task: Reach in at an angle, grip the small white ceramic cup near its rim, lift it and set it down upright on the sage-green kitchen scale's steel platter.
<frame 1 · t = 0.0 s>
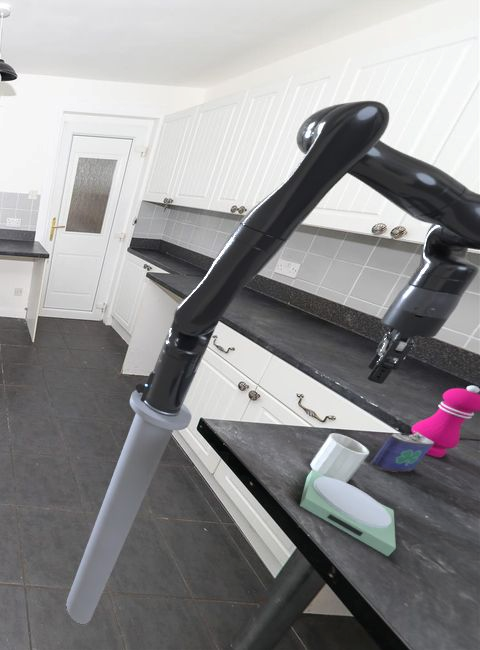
hand: (374, 375, 74), 23 cm above the table, tool pointing down, fingers open, 8 cm apart
cup: (327, 472, 76), on the table
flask: (390, 467, 80), on the table
scale: (342, 512, 67), on the table
pepper mill: (422, 448, 88), on the table
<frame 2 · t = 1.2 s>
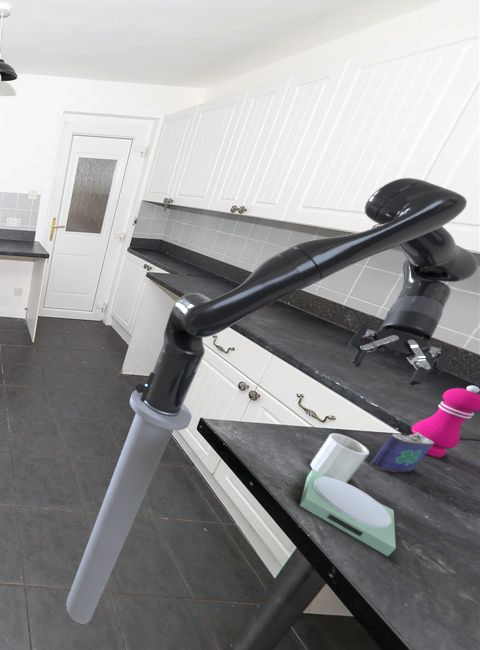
hand: (383, 374, 76), 22 cm above the table, tool tilted 45°, fingers open, 8 cm apart
nothing on the table moved.
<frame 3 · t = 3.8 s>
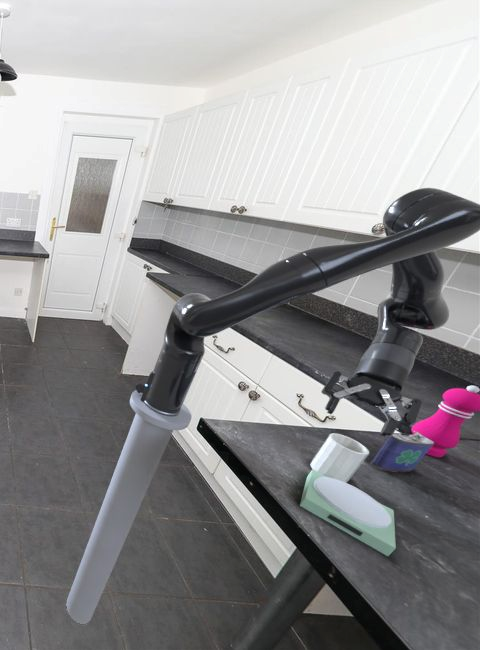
hand: (355, 423, 76), 11 cm above the table, tool tilted 45°, fingers open, 8 cm apart
nothing on the table moved.
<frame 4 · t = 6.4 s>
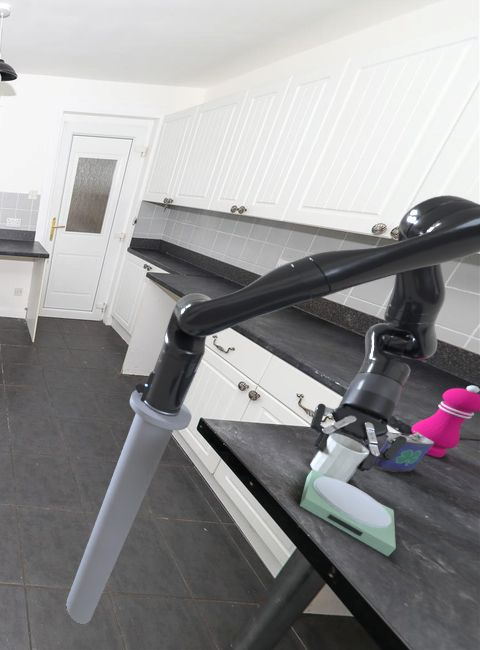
hand: (339, 459, 73), 5 cm above the table, tool tilted 45°, fingers closed on cup, 6 cm apart
cup: (327, 472, 76), on the table, touching gripper
everything else where it was.
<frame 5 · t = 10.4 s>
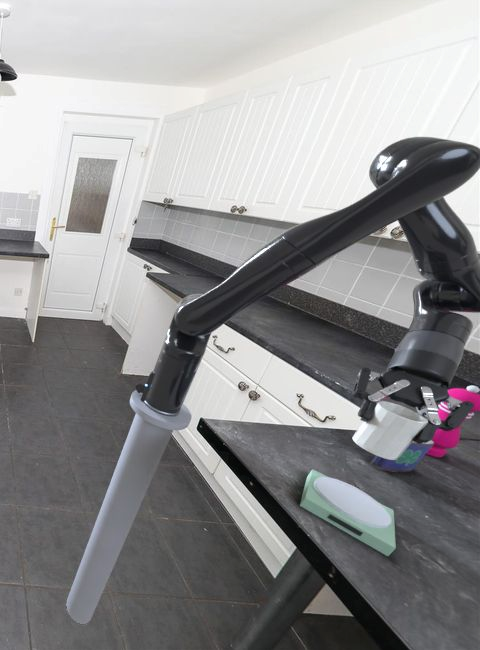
hand: (390, 430, 62), 19 cm above the table, tool tilted 45°, fingers closed on cup, 6 cm apart
cup: (374, 447, 65), point 14 cm above the table, touching gripper
everything else where it was.
when the fingers open (9 cm above the table, at t = 14.5 s): cup stays where it is, resting on scale.
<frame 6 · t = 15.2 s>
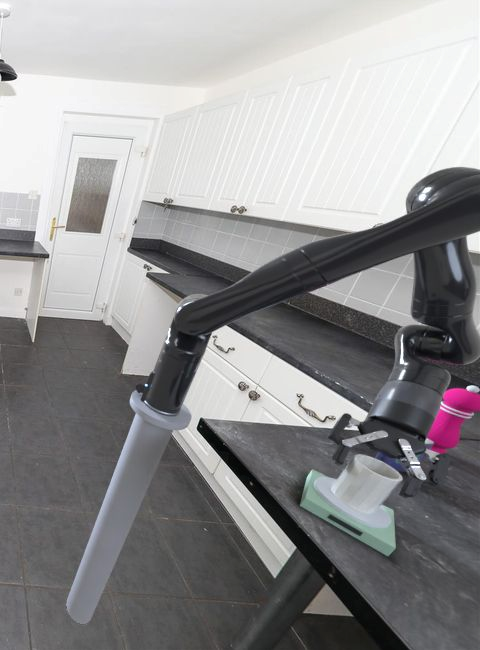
hand: (369, 479, 63), 10 cm above the table, tool tilted 45°, fingers open, 8 cm apart
cup: (351, 499, 66), point 3 cm above the table, touching scale
everything else where it was.
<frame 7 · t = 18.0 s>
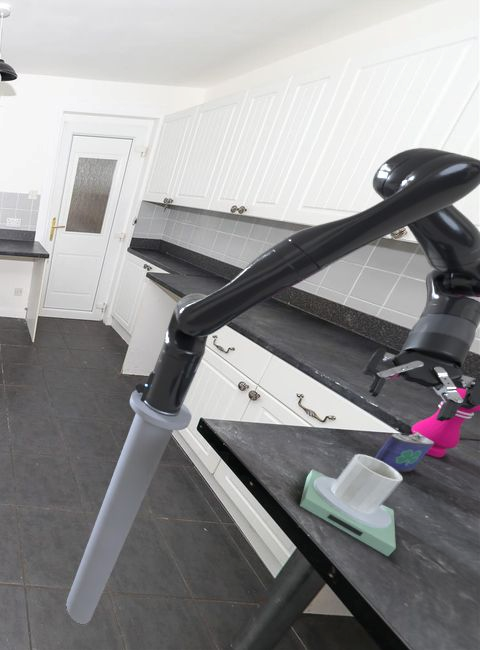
hand: (406, 406, 65), 22 cm above the table, tool tilted 45°, fingers open, 8 cm apart
nothing on the table moved.
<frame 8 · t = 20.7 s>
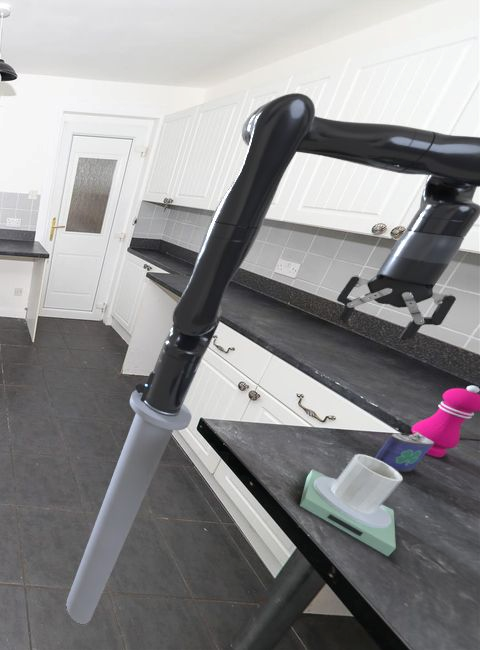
hand: (371, 330, 71), 33 cm above the table, tool pointing down, fingers open, 8 cm apart
nothing on the table moved.
at the end: cup inside the target area on the scale (0.1 cm from its centre), point 3.2 cm above the scale's base; cup tilted 0°; the gripper is holding nothing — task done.
